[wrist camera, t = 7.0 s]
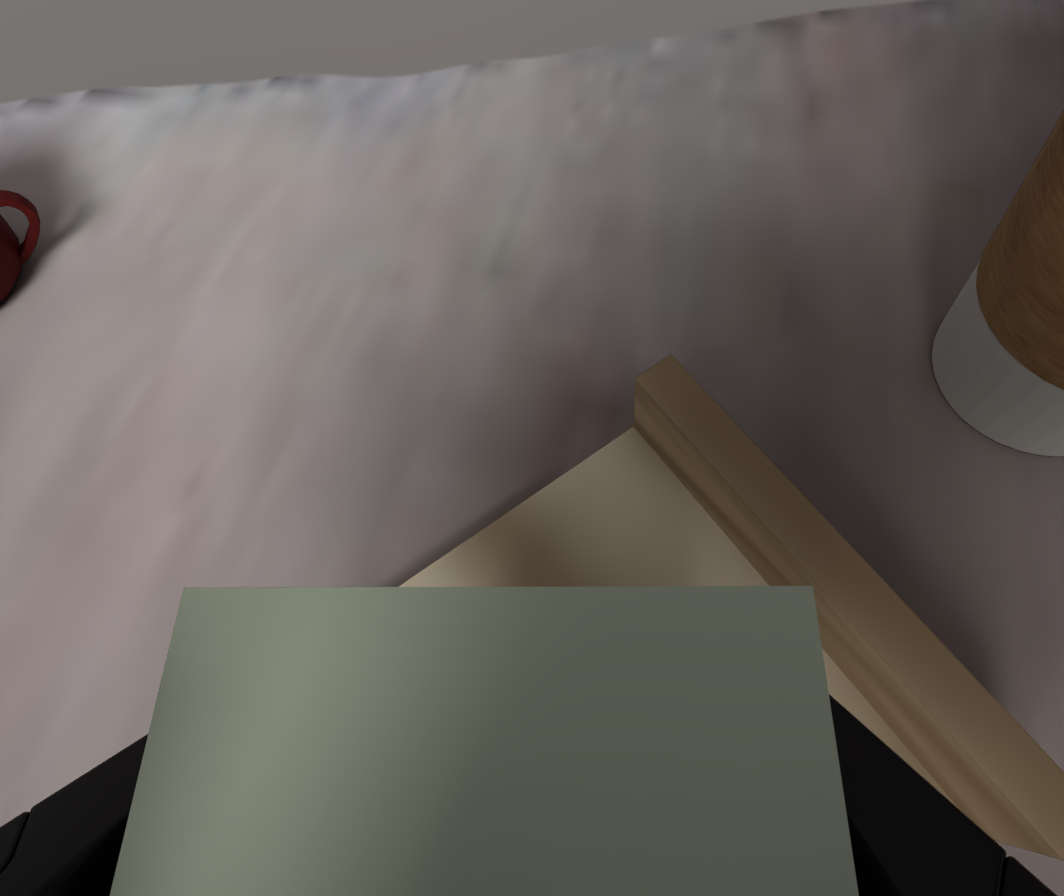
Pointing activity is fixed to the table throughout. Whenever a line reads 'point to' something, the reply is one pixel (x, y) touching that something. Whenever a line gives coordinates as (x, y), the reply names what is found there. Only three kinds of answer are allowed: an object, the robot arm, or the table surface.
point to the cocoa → (15, 241)
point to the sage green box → (491, 745)
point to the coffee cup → (1014, 320)
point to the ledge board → (768, 560)
